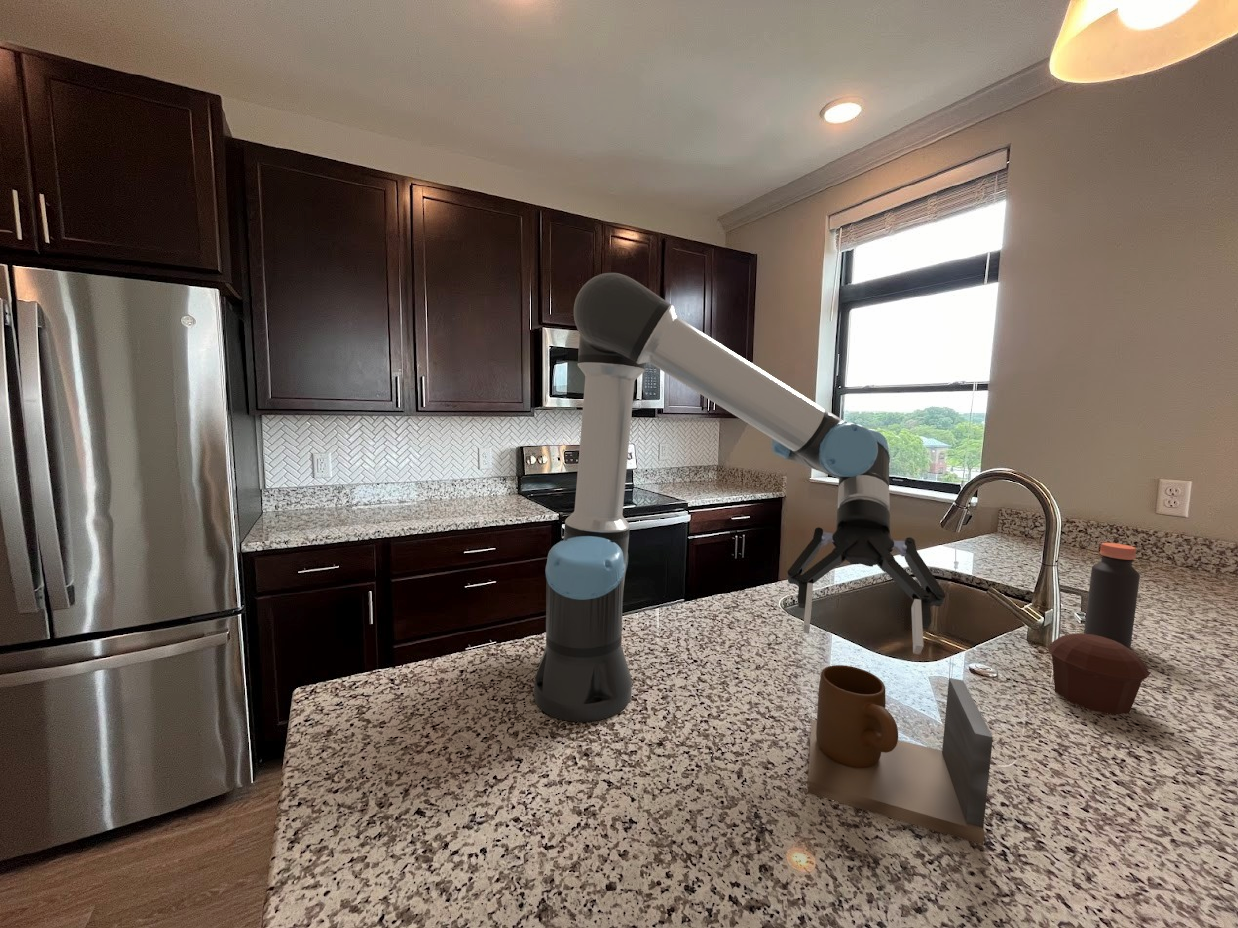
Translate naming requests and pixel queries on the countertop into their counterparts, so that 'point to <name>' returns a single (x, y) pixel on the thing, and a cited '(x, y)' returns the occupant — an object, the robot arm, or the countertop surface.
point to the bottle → (1113, 594)
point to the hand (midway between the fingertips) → (860, 639)
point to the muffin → (1096, 672)
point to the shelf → (919, 775)
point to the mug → (853, 717)
